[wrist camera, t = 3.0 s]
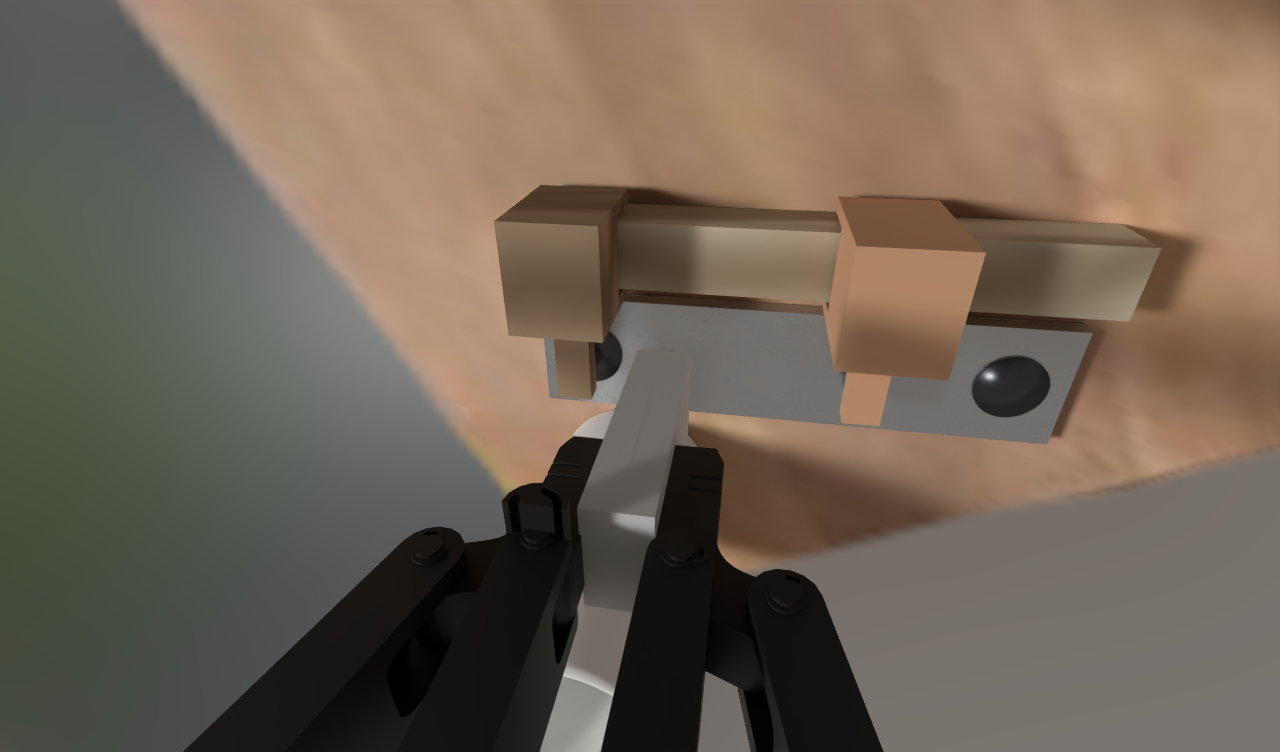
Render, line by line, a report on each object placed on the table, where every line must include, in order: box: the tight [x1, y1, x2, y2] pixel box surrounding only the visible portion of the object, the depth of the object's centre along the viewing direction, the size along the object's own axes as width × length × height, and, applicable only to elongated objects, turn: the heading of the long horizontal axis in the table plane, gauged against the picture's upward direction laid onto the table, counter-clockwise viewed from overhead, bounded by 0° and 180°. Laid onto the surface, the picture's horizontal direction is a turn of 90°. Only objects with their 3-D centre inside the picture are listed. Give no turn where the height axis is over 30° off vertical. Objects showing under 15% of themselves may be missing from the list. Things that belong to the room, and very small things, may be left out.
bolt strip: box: [544, 294, 1093, 444], centre depth 31 cm, size 6×25×1 cm, turn 90°
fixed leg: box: [494, 185, 629, 400], centre depth 27 cm, size 9×4×6 cm, turn 0°
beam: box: [617, 203, 1162, 322], centre depth 27 cm, size 3×25×3 cm, turn 90°
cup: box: [540, 410, 697, 752], centre depth 30 cm, size 8×8×16 cm
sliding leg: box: [822, 197, 986, 426], centre depth 25 cm, size 9×4×6 cm, turn 0°
